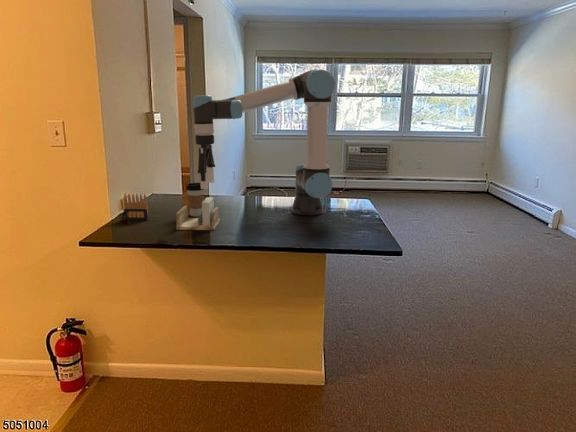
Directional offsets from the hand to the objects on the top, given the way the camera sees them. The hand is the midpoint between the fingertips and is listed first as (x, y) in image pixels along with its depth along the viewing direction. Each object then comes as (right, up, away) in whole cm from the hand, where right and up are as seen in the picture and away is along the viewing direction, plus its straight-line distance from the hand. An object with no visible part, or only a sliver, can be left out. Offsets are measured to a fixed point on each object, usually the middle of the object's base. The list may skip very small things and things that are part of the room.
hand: (207, 185), depth 186 cm
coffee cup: (-9, -13, +21) cm, 26 cm away
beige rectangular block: (0, -16, +4) cm, 16 cm away
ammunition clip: (-34, -15, +13) cm, 40 cm away
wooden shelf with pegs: (-5, -17, +5) cm, 18 cm away
